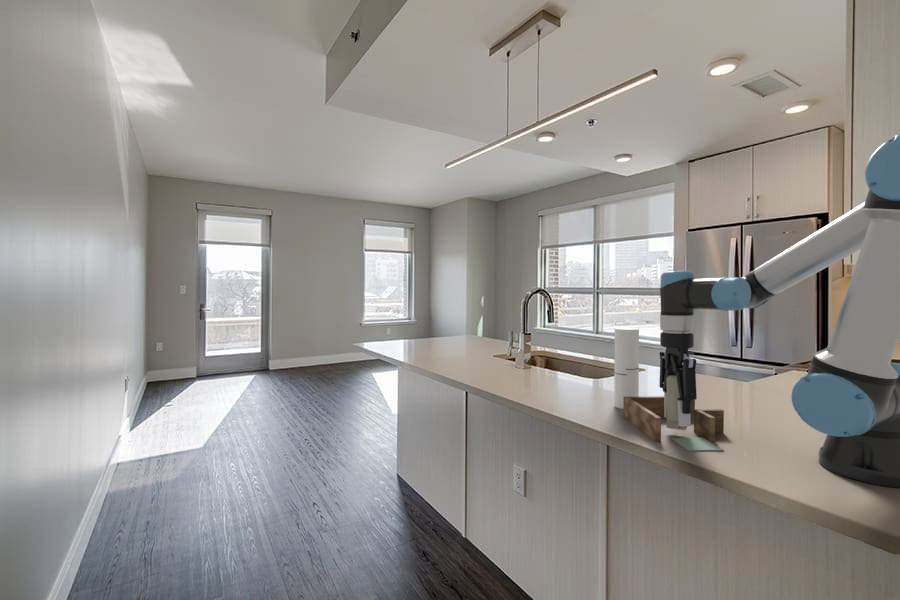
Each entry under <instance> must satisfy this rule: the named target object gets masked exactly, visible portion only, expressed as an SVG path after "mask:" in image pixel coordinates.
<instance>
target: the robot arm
mask: <svg viewBox="0 0 900 600" xmlns="http://www.w3.org/2000/svg"><path fill="white" fill-rule="evenodd" d="M864 171H865V172H864V177H865V181H866V185H867V187H868V188H869V189H868V192H867V195H866V197H865V201H864V202H863V203H861V204H859V205H857V206H856V207H854V208H853V209H851V210H850V211H848V212H846V213H845V214H843V215H842V216H839V217H838V218H836V219H835V220H833V221H831V222H830V223H828V224H826V225H825V226H823V227H822V228H820V229H818V230H816V231H814V232H813V233H811V234H810V235H809V236H807V237H806V238H804V239H802V240H800V241H798V242H797V243H795V244H793V245H792V246H790V247H789V248H787V249H785V250H784V251H782V252H781V253H779V254H777V255H776V256H774V257H773V258H771V259H769V260H767V261H766V262H764V263H763V264H761V265H759V266H757V267H756V268H754V269H753V270H751V271H750V272H747V273H746V274H745V275H743V276H742V277H741V276H740V277H734V276H724V277H707V278H706V277H705V278H696V277H694V276H695V275H694V272H693V271H691V270H676V271H674V270H673V271H672V270H671V271H664V272H662V273H661V274H660V285H659V286H660V287H659V293H660V294H659V295H660V297H659V298H660V314H659V322H660V323H659V324H660V325H659V329H660V331H661V332H660V334H659V335H660V339H659V340H660V346H661V347H663V348H665V351H659V360H660V361H659V362H660V364H659V384H658V385H659V388H660V389H662V392H663V396H664V417H665V418H664V419H667V377H668V376H671V375H673V376H677V383H678V389H679V395H680V398H677V400H678V426H687V427H691V418H690V402H691V400H695V401H696V400H697V377H696V375H697V373H696V369H697V368H696V366H697V360H696V359H695V358H691V357H690V354H689V349H692V348H693V347H695V346H694V345H695V344H694V343H695V338H694V337H695V335H694V333H693V332H692V331H694V322H695V319H694V314H695V313H694V312H695V310H711V311H712V310H713V311H714V310H715V311H716V310H717V311H718V310H719V311H725V312H726V311H727V312H728V311H741V310H744V309H756V308H759V307H762V306H765V305H767V304H768V303H769V302H770V301H771V299H772V298H773V297H775V296H776V295H778V294H780V293H782V292H783V291H785V290H788V289H790V288H791V287H793V286H795V285H797V284H798V283H800V282H802V281H804V280H806V279H807V278H809V277H811V276H813V275H816V274H817V273H819V272H821V271H823V270H824V269H826V268H829V267H831V266H832V265H834V264H836V263H838V262H840V261H841V260H843V259H845V258H847V257H849V256H851V255H852V254H855V253H856V252H858V251H859V254H858V257H857V261H856V262H855V266H854V268H853V271H852V275H851V277H850V280H849V284H848V286H847V288H846V292H845V295H844V298H843V301H842V304H841V307H840V309H839V312H838V315H837V317H836V318H837V319H836V321H835V325H834V327H833V330H832V334H831V335H830V339H829V342H828V345H827V347H826V348H823V349H821V350H819V351H816V352H814V354H813V357H812V360H811V362H810V365H809V368H808V371H807V374H806V375H804V376H801V378H800V379H799V380H798V381H797V382H796V383H795V385H794V386H793V388H792V391H791V396H790V397H791V402H792V406H793V409H794V411H795V412H796V413H797V415H798V416H799V418H800V419H801V420H802V421H803V422H804V423H805V424H806V425H808V426H809V427H811V428H812V429H814V430H816V431H818V432H820V433H822V434H824V435H826V436H825V439H824V442H823V445H822V446H821V447H820V449H819V450H818V462H819V464H820V465H821V466H822V467H824V468H825V469H827V470H829V471H831V472H833V473H836V474H838V475H840V476H843V477H846V478H848V479H853V480H857V481H859V482H860V481H861V482H863V483H868V484H873V485H878V486H884V487H885V486H886V487H892V488H900V362H899V363H898V362H892V359H893V357H894V354H895V351H896V349H897V345H898V344H899V342H900V133H899V134H896V135H894V136H892V137H891V138H890V139H888V140H886V141H885V142H884V143H882V144H881V145H880V146H879V147H878V148H877V149H876V150H875V151H874V152H872V154H871V156H870V157H869V160H868V161H867V163H866V167H865V170H864Z"/></svg>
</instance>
